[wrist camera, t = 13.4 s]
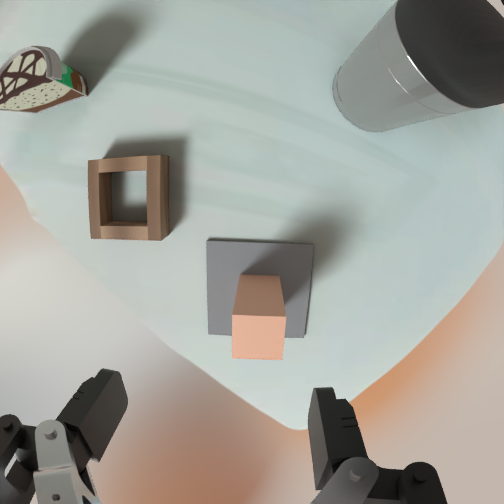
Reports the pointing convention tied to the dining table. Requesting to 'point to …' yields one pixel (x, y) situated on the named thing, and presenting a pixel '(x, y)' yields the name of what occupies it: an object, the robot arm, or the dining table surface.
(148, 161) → the walnut pocket
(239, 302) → the terracotta block
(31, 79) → the food container
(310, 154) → the dining table surface
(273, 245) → the rubber mat
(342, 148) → the dining table surface
